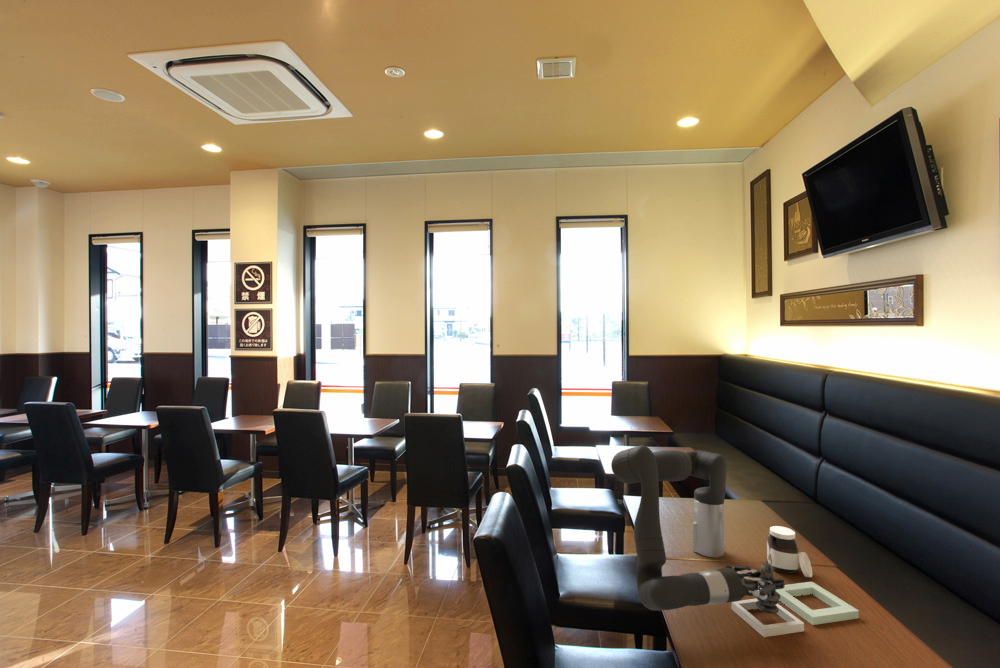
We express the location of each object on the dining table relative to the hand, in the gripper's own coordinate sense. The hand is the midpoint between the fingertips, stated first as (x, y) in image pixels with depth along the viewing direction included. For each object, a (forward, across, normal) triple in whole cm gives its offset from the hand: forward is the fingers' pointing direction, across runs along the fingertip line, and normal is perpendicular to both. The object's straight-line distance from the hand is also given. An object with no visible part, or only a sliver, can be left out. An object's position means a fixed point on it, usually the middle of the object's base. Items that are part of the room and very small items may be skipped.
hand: (776, 578), depth 118 cm
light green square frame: (+14, +3, +10) cm, 17 cm away
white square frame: (-3, 0, +10) cm, 11 cm away
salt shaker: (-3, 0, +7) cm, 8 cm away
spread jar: (+23, +20, +11) cm, 32 cm away
